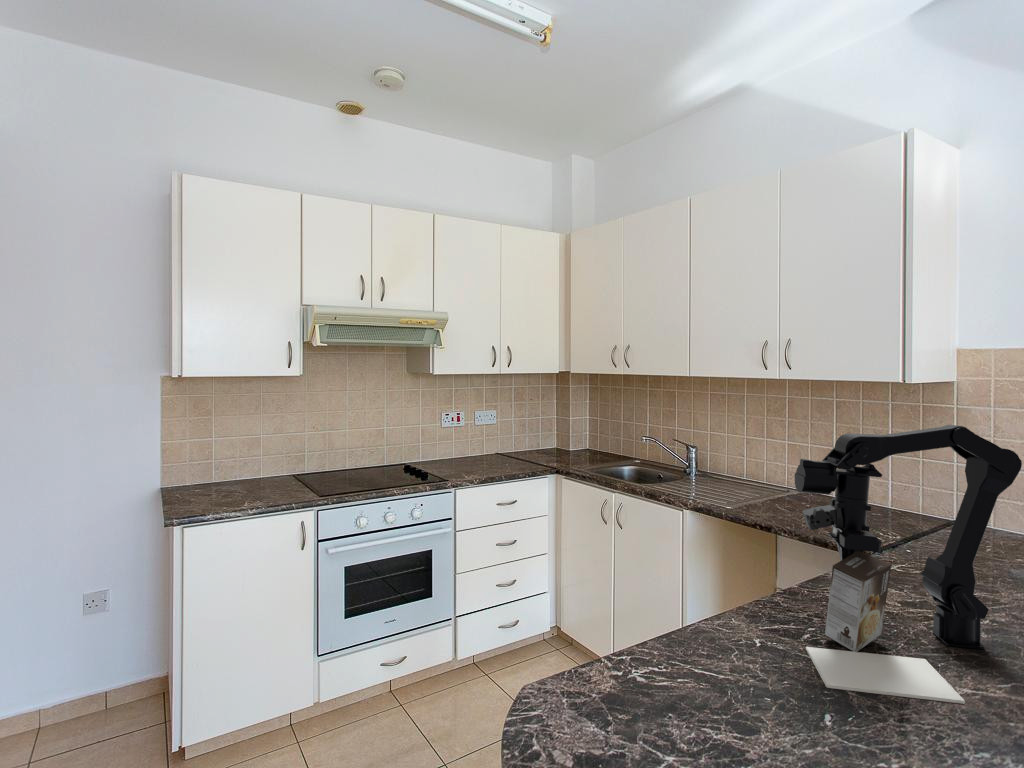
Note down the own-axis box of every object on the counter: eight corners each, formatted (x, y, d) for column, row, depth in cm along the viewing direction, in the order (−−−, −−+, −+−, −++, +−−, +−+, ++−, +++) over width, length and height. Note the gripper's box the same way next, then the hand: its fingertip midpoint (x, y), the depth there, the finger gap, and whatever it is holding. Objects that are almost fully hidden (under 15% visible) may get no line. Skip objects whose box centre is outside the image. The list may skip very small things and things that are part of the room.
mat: (925, 661, 106) (925, 659, 106) (964, 703, 92) (964, 700, 92) (805, 649, 110) (805, 646, 110) (826, 687, 97) (826, 684, 97)
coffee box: (849, 616, 119) (858, 548, 114) (882, 634, 113) (893, 563, 109) (823, 635, 114) (831, 564, 109) (856, 654, 109) (866, 581, 104)
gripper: (798, 483, 127) (792, 553, 128) (819, 501, 109) (812, 582, 110) (854, 489, 124) (848, 560, 125) (885, 509, 106) (878, 592, 107)
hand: (845, 572), depth 117 cm, fingers closed
